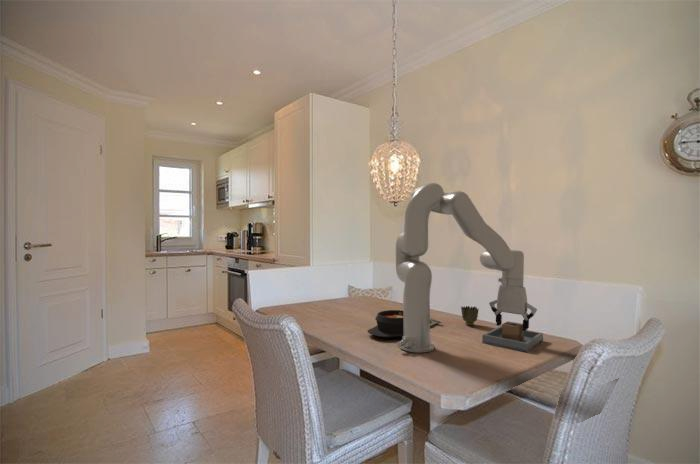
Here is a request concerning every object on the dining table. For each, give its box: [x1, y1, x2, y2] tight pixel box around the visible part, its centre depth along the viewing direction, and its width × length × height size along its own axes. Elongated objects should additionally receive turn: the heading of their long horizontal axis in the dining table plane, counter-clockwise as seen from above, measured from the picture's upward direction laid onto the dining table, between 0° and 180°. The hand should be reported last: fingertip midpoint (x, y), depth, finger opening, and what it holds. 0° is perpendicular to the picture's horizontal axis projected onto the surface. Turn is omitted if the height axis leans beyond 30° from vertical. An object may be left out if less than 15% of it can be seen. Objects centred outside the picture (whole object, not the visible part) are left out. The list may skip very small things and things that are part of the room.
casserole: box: [367, 309, 403, 339], centre depth 150 cm, size 25×19×8 cm
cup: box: [460, 305, 479, 327], centre depth 163 cm, size 8×7×8 cm
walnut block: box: [501, 320, 524, 342], centre depth 139 cm, size 6×6×6 cm
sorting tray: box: [481, 325, 544, 353], centre depth 139 cm, size 18×16×3 cm
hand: (511, 327), depth 139 cm, fingers open, 9 cm apart
